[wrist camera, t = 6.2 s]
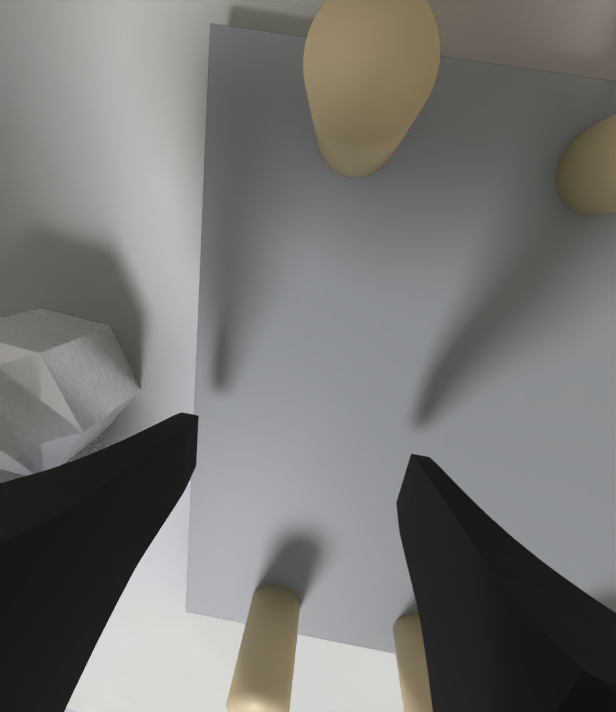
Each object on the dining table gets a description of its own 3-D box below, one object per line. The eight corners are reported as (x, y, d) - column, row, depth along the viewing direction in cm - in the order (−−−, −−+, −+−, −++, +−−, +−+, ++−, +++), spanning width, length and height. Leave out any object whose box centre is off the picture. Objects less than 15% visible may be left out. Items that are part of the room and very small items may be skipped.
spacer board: (193, 592, 18) (142, 715, 13) (222, 43, 10) (121, -130, 5) (564, 666, 17) (647, 822, 13) (908, 143, 9) (1473, 46, 5)
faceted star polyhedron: (15, 404, 15) (-74, 449, 12) (9, 298, 14) (-98, 316, 10) (137, 436, 15) (82, 490, 12) (146, 334, 14) (84, 364, 10)
